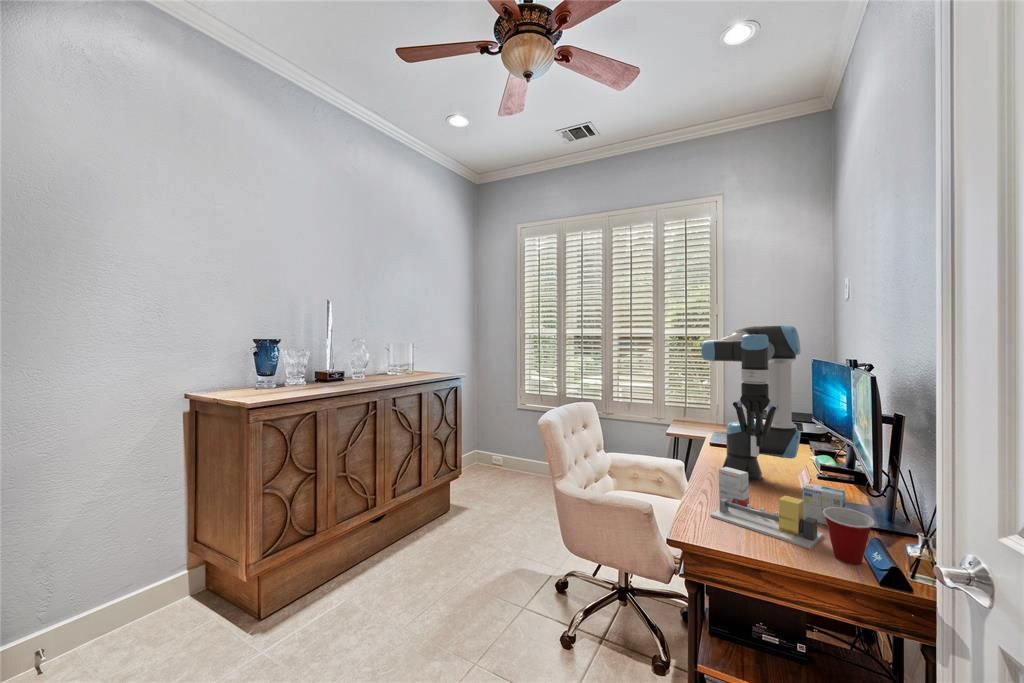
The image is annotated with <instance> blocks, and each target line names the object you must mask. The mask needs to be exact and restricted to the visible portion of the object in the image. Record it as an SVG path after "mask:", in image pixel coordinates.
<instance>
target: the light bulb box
mask: <svg viewBox="0 0 1024 683" xmlns="http://www.w3.org/2000/svg"><path fill="white" fill-rule="evenodd" d="M802 500H804V519H806V518H807V517H810V518H814V519H817V524H822V525H825V526H828V524H827V521H826V518H825V516H824V514H823V510H824V509H825V508H828V507H840V508H846V490H845V489H843V488H842V489H841V488H836V487H831V486H827V485H825V486H824V485H820V484H814V483H811V482H805V484H804V485H803V486H802Z"/></svg>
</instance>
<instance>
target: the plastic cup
mask: <svg viewBox="0 0 1024 683" xmlns="http://www.w3.org/2000/svg"><path fill="white" fill-rule="evenodd" d="M823 514H824V516H825V518H826V521H827V524H828V525H827V529H828V534H829V539H830V544H831V548H832V553H833V556H834V558H835V559H836V560H838V561H840V562H842V563H845V564H848V565H853V566H854V565H855V566H857V565H858V566H859V565H861V564H862V562H863V559H864V556H865V552H866V549H867V544H868V540H869V536H870V532H871V530H872V527H874V525H875V520H874V519H873V517H871V516H869V515H868V514H866V513H863V512H862V511H858V510H856V509H851V508H846V507H845V508H840V507H828V508H825V509H824V510H823Z"/></svg>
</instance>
